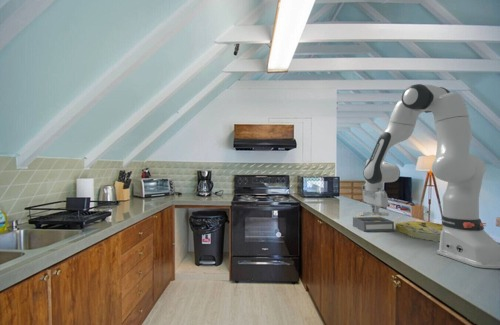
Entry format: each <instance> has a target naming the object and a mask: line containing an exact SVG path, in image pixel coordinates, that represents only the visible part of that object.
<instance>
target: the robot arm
mask: <svg viewBox="0 0 500 325" xmlns="http://www.w3.org/2000/svg"><path fill="white" fill-rule="evenodd" d="M422 113H426V114H427V113H432V115H433V121H434V126H435V134H436V141H437V142H436V154H435V159H434V161H433V162H432V164H431V172H432V174H433V176H435V178H437V179H439V180H440V181H444V182H447V184H446V185H447V186H446V189H445V192H444V194H443V195H442V216H441V224H442V225H443V229H442V231H441V235H440V242H439V247H438V249H437V251H436V253H437V254H438V255H441V256H443V257H446V258H449V259H452V260H455V261H458V262H460V263H464V264H467V265H469V266H472V267H475V268H483V269H500V244H499V243H498V242H497V241H496V240H495V239H494V238H493V237H491V235H490V234H489V233H487V232H486V231H485V227H487V222H482V220H481V219H480V193H481V189H482V185H483V184H482V183H483V179H484V178H483V177H484V175H485V173H486V170H487V165H486V163H485V161H484V160H483V159H482V158H480V157H478V156H476V155H474V154H470V148H471V147H470V146H471V140H472V139H473V131H472V125H471V119H470V115H469V110H468V107H467V104H466V102H465V99H464V98H463V96H462V94H460V93H457V92H451V91H450V90H449V89H447V88H445V87H442V86H435V85H432V84H421V83H418V84H412V85H409V86H407V88H405V89H404V91H403V92H402V95H401V99H400V100H398V102H397V103H396V104H395V106H394V108H393V110H392V113H391V115H390V117H389V121H388V125H387V127H386V128H385V130H384V132H382V133H381V134H380V135H379V137H378V139H377V142H376V143H375V146H374V148H373V151H372V153H371V156H370V158H368V159H367V160H366V161H365V167H364V169H363V170H362V171H363V172H362V174H363V177H364V180H365V183H364V184H363V185H362V186H361V190H362V200H363V202H364V203H367V204H370V208H371V212H374V213H376V214H378V213H379V212H380V211H379V210H380V208H387V207H388V206H389V201H388V200H389V199H388V194H387V191H385V189H384V184H385V183H393V182H396V181H398V180H399V178H400V176H401V170H400V168H399V166H398V165H397V164H395V163H391V162H388V161H385V158H386V156H387V153H388V151H389V150H390V149H391V148H392V147H394V146H395V145H397V144H399V143H402V142H404V141H407V140H409V138H411V136H412V134H413V132H414V130H415V127H416V123H417V120H418V118H419V116H420V114H422Z"/></svg>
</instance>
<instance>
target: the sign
mask: <svg viewBox="0 0 500 325" xmlns="http://www.w3.org/2000/svg"><path fill="white" fill-rule="evenodd" d="M442 229H443V225H442V223H434V222H429V221H404V222H397V223H394V230H395V231H397V232H399V233H401V232H402V234H404V233H405V235H407V234H408V235H407V236H408V237H410V236H411V237H410V238H414V237H416V238H415V239H418V238H421V239H420V240H423V239H426V240H425V241H429V240H433V241H432V242H438V241H440V235H441V231H442Z"/></svg>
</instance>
